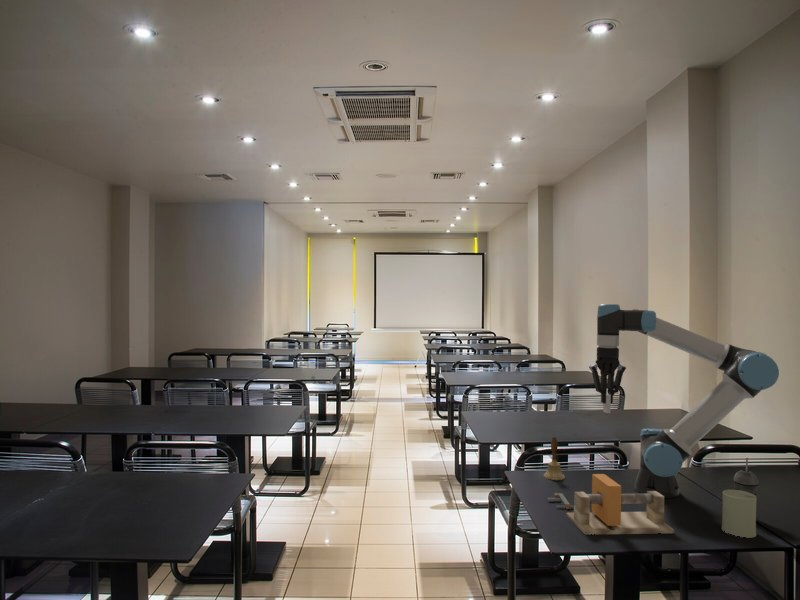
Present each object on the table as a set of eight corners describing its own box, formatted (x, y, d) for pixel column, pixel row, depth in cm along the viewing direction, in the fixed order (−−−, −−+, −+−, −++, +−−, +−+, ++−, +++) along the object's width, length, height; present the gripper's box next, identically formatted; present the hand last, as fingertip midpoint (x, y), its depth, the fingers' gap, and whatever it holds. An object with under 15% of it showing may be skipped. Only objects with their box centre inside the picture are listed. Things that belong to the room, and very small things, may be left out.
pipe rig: (648, 514, 188) (649, 485, 188) (674, 533, 173) (674, 501, 173) (566, 515, 186) (566, 486, 186) (584, 534, 171) (585, 502, 171)
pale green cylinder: (756, 540, 169) (757, 500, 169) (720, 533, 173) (721, 494, 173) (756, 530, 176) (756, 491, 176) (722, 523, 181) (722, 486, 181)
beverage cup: (754, 515, 189) (756, 455, 189) (760, 523, 182) (762, 460, 182) (730, 512, 191) (731, 452, 191) (735, 519, 184) (736, 458, 184)
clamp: (545, 492, 203) (573, 493, 202) (545, 498, 203) (573, 499, 202) (555, 507, 188) (585, 508, 187) (555, 514, 188) (585, 515, 187)
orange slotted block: (603, 510, 185) (604, 474, 185) (620, 525, 173) (621, 486, 173) (591, 510, 185) (592, 474, 185) (607, 525, 173) (608, 486, 173)
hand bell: (544, 479, 223) (545, 439, 223) (542, 473, 231) (543, 434, 231) (566, 481, 222) (566, 440, 222) (563, 474, 230) (564, 435, 230)
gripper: (620, 346, 209) (619, 410, 209) (586, 345, 208) (584, 410, 208) (630, 347, 201) (629, 414, 201) (594, 347, 200) (593, 414, 200)
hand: (606, 412), depth 205 cm, fingers closed
